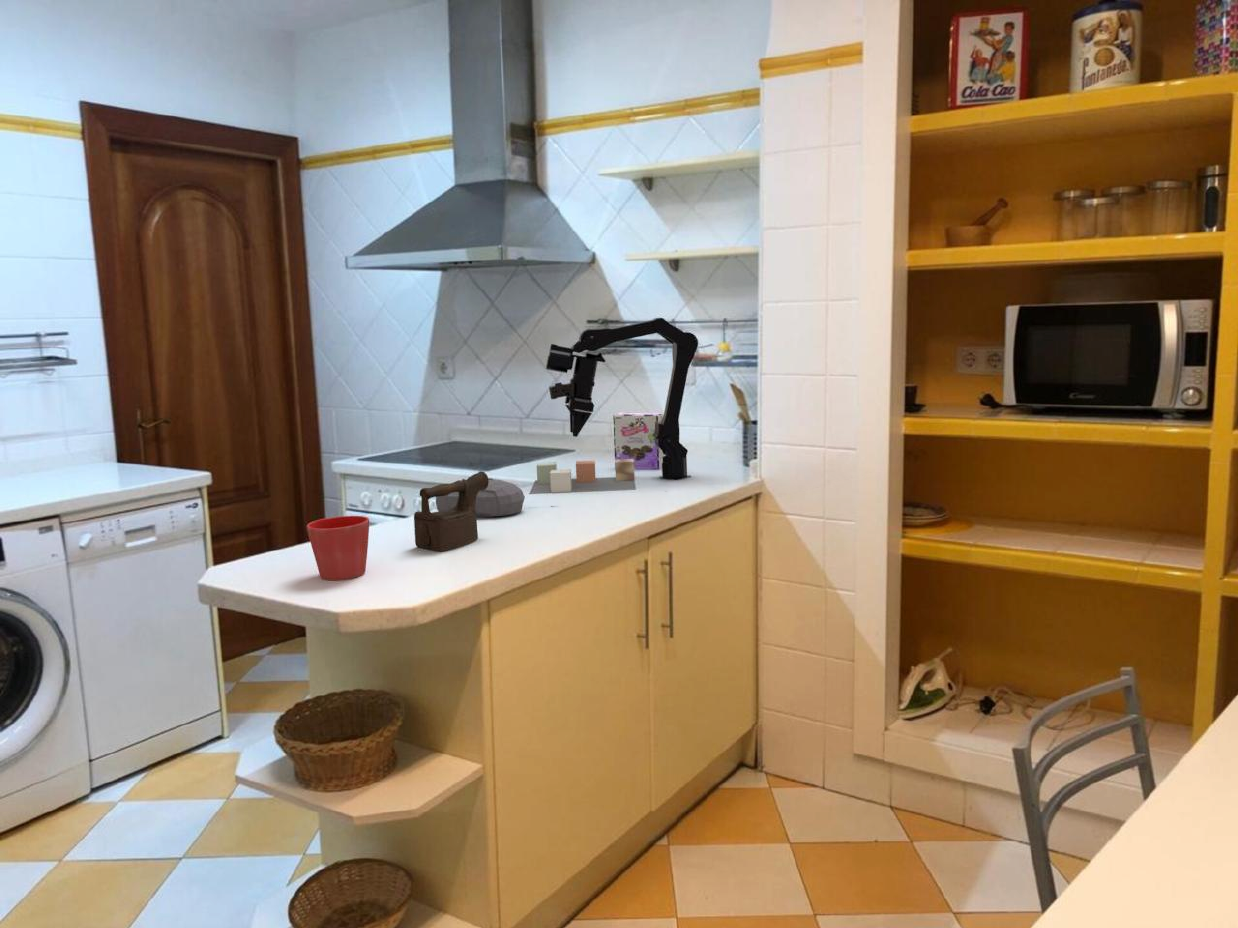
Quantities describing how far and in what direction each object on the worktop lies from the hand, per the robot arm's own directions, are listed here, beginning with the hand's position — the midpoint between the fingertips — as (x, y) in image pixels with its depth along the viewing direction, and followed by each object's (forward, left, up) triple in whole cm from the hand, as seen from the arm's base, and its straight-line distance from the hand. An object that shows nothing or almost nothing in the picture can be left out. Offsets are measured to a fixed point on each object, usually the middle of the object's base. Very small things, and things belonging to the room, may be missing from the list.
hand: (573, 434), depth 254 cm
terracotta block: (-4, 0, -13) cm, 14 cm away
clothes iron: (+61, +31, -14) cm, 70 cm away
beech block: (-12, +7, -13) cm, 19 cm away
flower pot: (+88, +35, -14) cm, 96 cm away
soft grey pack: (+38, +10, -14) cm, 41 cm away
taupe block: (+10, +6, -13) cm, 17 cm away
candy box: (-28, -4, -14) cm, 32 cm away
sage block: (+3, -8, -13) cm, 15 cm away
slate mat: (+1, +4, -14) cm, 14 cm away
